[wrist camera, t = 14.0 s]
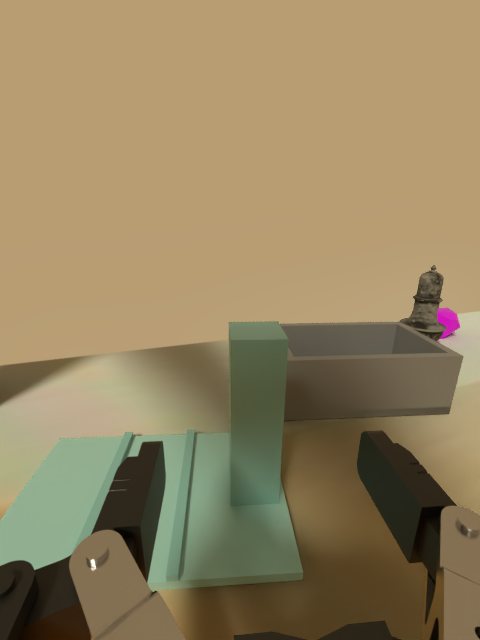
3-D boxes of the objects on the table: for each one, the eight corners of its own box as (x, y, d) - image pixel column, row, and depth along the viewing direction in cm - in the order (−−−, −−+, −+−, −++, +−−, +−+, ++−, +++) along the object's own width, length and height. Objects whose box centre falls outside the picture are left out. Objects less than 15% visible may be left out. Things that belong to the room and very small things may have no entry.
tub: (283, 420, 28) (286, 360, 26) (266, 370, 38) (267, 324, 36) (448, 413, 29) (463, 356, 27) (391, 366, 39) (399, 321, 37)
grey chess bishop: (430, 341, 48) (446, 262, 44) (449, 356, 42) (470, 268, 38) (390, 339, 48) (403, 261, 45) (404, 354, 43) (420, 267, 39)
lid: (-51, 608, 15) (-142, 387, 11) (61, 446, 25) (33, 306, 21) (302, 583, 16) (323, 375, 12) (268, 439, 26) (274, 304, 23)
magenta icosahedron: (459, 341, 48) (465, 313, 46) (419, 337, 49) (425, 309, 48) (449, 331, 52) (455, 304, 51) (413, 327, 54) (418, 302, 53)
